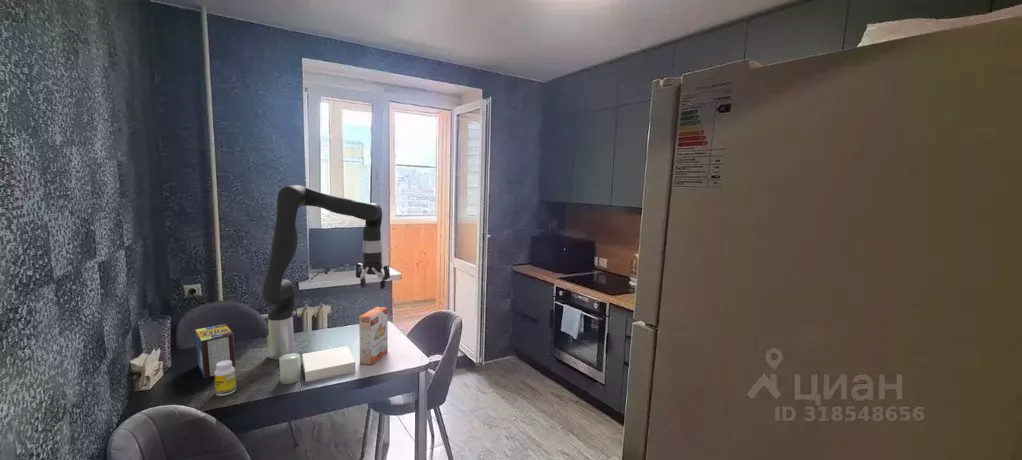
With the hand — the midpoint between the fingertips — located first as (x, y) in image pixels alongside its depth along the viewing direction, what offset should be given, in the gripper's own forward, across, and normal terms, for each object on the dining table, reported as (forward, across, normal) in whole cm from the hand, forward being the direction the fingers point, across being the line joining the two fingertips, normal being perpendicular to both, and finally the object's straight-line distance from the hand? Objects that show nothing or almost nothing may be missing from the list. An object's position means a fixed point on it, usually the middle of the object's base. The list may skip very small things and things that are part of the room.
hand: (373, 288), depth 173 cm
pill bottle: (+31, -38, -37) cm, 62 cm away
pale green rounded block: (+31, -22, -24) cm, 45 cm away
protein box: (+32, -57, -22) cm, 69 cm away
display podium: (+31, -14, -12) cm, 36 cm away
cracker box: (+31, 0, 0) cm, 31 cm away
